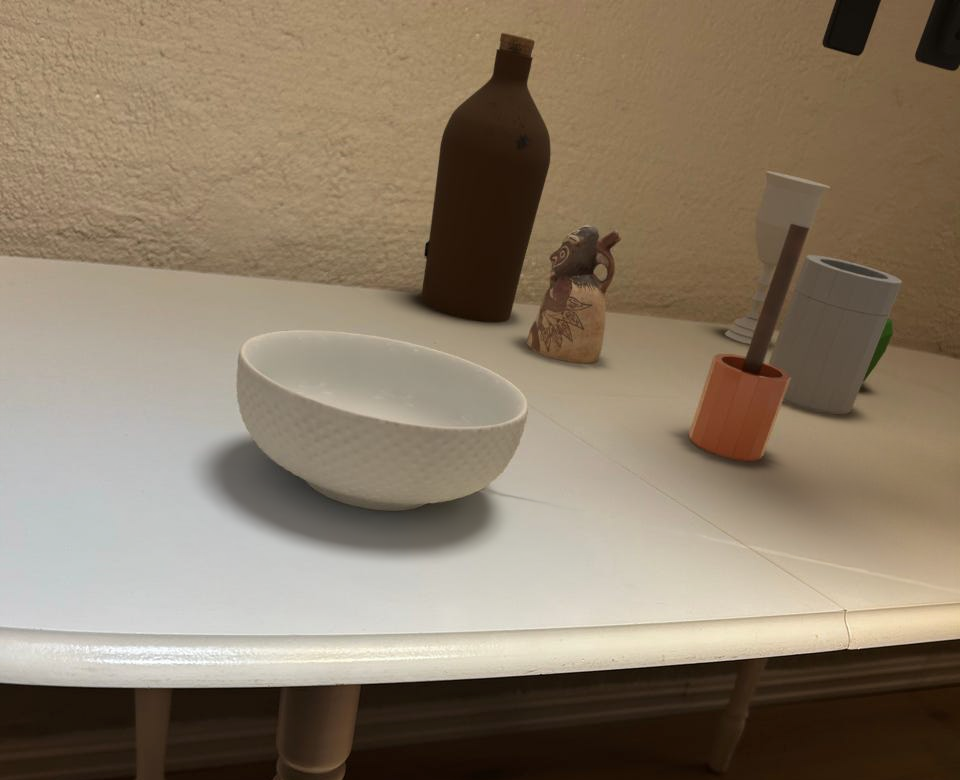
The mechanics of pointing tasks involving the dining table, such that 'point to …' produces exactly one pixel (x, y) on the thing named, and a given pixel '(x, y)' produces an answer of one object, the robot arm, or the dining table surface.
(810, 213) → the chalice
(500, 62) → the olive oil
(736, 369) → the holder
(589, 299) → the figurine
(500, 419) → the cereal bowl
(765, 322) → the brush
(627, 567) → the dining table surface
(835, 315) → the gray cylindrical pot
